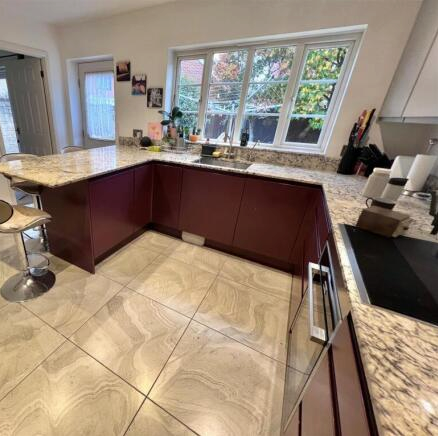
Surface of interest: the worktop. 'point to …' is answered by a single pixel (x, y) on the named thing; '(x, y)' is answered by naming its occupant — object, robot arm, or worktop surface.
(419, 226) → the worktop surface
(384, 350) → the worktop surface
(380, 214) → the cabinet
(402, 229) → the drawer
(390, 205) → the coffee mug
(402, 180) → the travel mug
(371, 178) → the jar
